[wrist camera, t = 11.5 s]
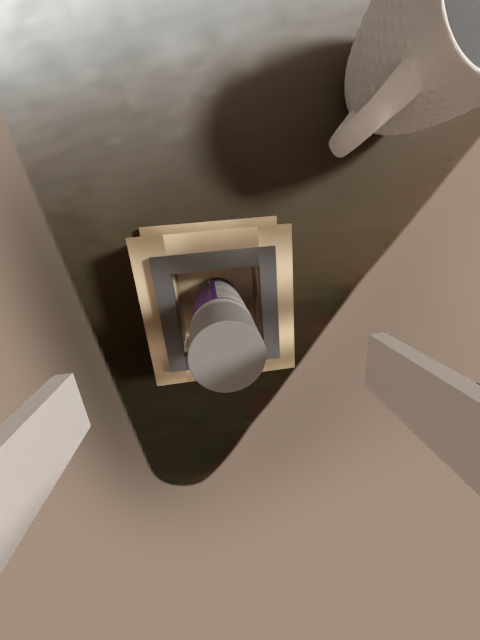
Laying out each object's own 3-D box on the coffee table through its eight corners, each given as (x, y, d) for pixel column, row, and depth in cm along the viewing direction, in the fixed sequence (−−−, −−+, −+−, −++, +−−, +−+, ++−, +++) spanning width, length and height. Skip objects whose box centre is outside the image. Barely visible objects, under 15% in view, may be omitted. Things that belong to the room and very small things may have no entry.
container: (202, 323, 29) (199, 404, 15) (189, 283, 28) (172, 332, 13) (242, 312, 29) (276, 381, 15) (231, 272, 28) (258, 308, 14)
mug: (342, 207, 28) (448, 183, 16) (272, 125, 25) (334, 14, 13) (449, 89, 26) (670, -47, 13) (386, -18, 23) (599, -325, 10)
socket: (141, 228, 26) (119, 224, 20) (274, 216, 28) (294, 210, 21) (168, 366, 31) (157, 399, 25) (279, 351, 32) (297, 379, 26)
